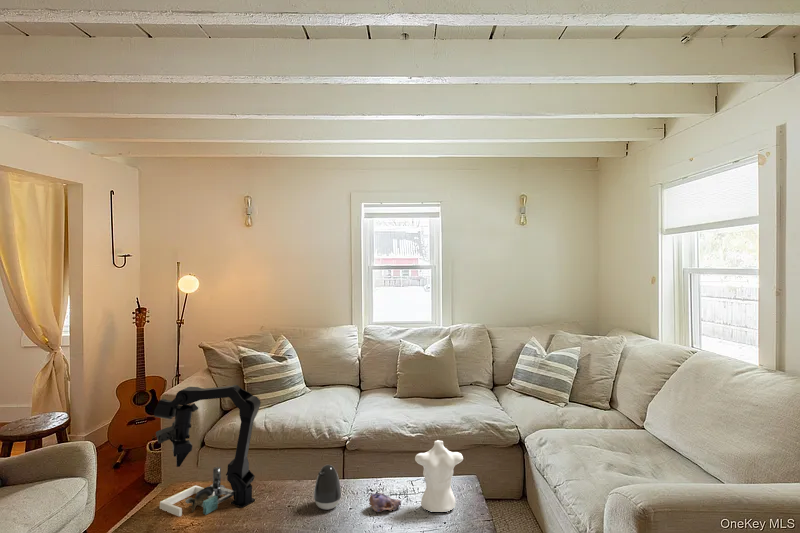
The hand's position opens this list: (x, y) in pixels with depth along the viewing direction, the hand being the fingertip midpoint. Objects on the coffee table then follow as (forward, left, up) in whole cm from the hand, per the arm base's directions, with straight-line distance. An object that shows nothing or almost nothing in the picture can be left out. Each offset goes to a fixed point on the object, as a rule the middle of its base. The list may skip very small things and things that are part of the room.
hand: (176, 461), depth 168 cm
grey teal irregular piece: (-13, -5, -15) cm, 20 cm away
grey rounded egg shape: (-54, -24, -15) cm, 61 cm away
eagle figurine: (-12, -1, -15) cm, 19 cm away
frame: (-7, -1, -15) cm, 16 cm away
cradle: (-11, -11, -15) cm, 21 cm away
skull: (-74, -33, -15) cm, 82 cm away
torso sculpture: (-91, -43, -15) cm, 101 cm away
